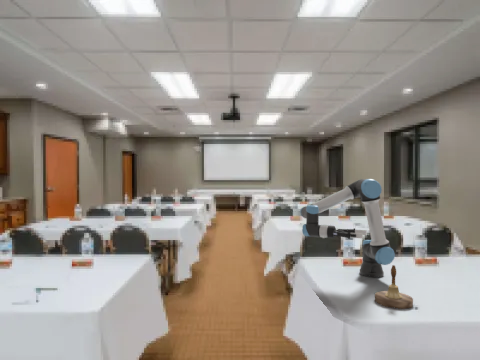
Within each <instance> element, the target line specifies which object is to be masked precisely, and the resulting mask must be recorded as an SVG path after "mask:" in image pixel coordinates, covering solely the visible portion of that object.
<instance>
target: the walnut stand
mask: <svg viewBox="0 0 480 360" xmlns="http://www.w3.org/2000/svg"><path fill="white" fill-rule="evenodd" d="M387 292H388V290H382V291H377V292H375V293H374V301H375V303H376V302H377V303H376V304H378V305H380V306H382V307H386V308H389V309H390V308H391V309H396V308H398V310H405V309H411V308H412V307H413V306H414V298H413V297H412V296H410V295H408V294H406V293H403V292H399V293H400V295H401V296H402V298H401V299H391V298H388V297H386V296H385V294H386V293H387Z"/></svg>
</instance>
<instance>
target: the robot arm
mask: <svg viewBox="0 0 480 360" xmlns="http://www.w3.org/2000/svg"><path fill="white" fill-rule="evenodd" d="M382 191H383V190H382V185H381V183H380V182H379V181H377V180H375V179H373V178H364V179H363V178H362V179H361V178H360V179H358V180H355V181H354V182H352V183H349V184H348V185H346V186H345V188H343V189H341V190H339V191H336V192H334V193H333V194H330V195H328V196H326V197H324V198H322V199H320V200H318V201H316V202H313V203H312V204H308V205H306V206H302V207H301V208H300V211H299V213H300V216H301V217H302V218H304V219H305V220H306V223H303V225H302V229H301V230H302V231H301V232H302V235H303V236H305V237H312V238H322V239H325V238H326V239H327V238H328V239H335V237H340V238H346V239H349V240H350V239H351V238H352V239H363V238H364V237H363V236H367V230H363V229H356V228H349V229H348V228H347V229H346V228H337V229H336V227H335V226H334V225H327V224H319V219H320V218H319V216H320V215H319V214H321V213H323V212H324V211H325V212H326V211H327V210H329V209H331V208H333V207H336V206H337V205H340V204H342V203H344V202H346V201H349V200H354V199H357V198H360V202H361V203H362V204H363V205H364V209H365V214H366V215H365V216H366V218H367V225H368V229H369V234H370V238H371V239H364V240H363V241H362V262H361V265H360V269H359V275H361V276H363V277H368V278H382V277H384V273H385V272H384V269H383V266H388V265H390V264H391V263H393V261H394V259H395V257H396V254H395V251H394V249H393V248H392V247H391V245H390V240H388V239H387V236H386V233H385V229H384V228H385V227H384V223H383V218H382V213H381V209H380V203H379V201H381V194H382Z"/></svg>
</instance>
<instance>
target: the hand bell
mask: <svg viewBox="0 0 480 360" xmlns="http://www.w3.org/2000/svg"><path fill="white" fill-rule="evenodd" d="M390 275H391V284H389V286H388V289H387V291H388V292H387V293H386V294H385V296H386V297H388V298H391V299H401V298H402V296H401V295H400V293H401V292H400V290H399V286H398V285H396V276H397V268H396V265H394V264H393V265H392V266H391V269H390Z"/></svg>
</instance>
